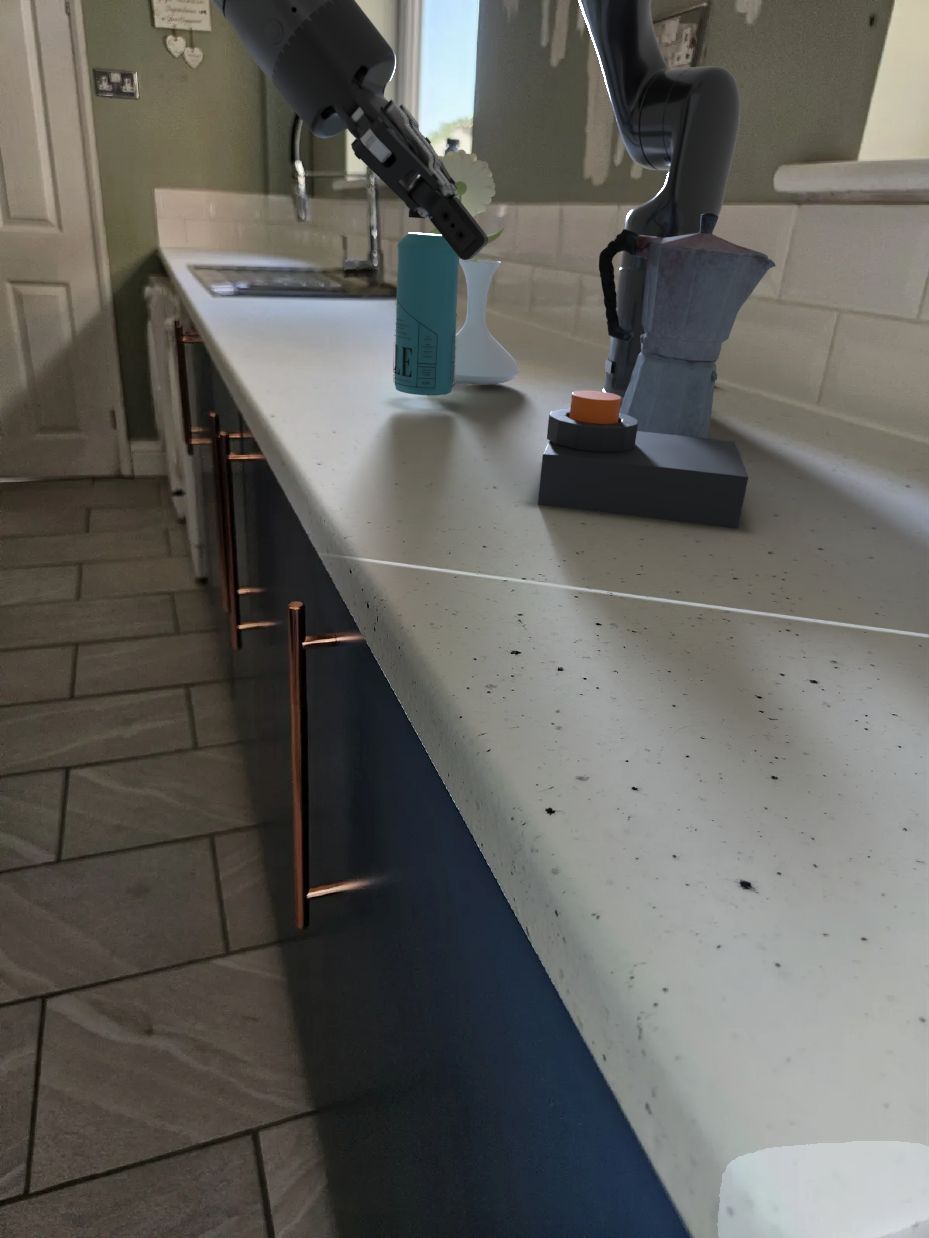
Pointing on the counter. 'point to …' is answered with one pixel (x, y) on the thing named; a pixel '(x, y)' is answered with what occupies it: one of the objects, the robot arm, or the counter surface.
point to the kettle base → (641, 472)
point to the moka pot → (681, 322)
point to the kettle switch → (595, 407)
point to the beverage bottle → (425, 314)
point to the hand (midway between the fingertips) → (477, 251)
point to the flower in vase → (477, 282)
